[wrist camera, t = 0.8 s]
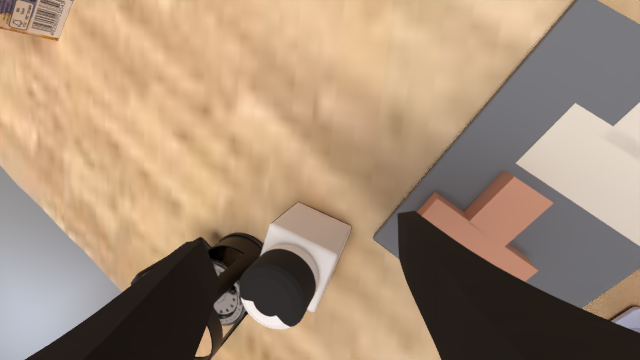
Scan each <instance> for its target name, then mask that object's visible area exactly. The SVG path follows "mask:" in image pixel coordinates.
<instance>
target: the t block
mask: <svg viewBox="0 0 640 360" xmlns="http://www.w3.org/2000/svg"><path fill="white" fill-rule="evenodd" d="M552 204H553V202H552V201H550V200H549V199H547V198H546V197H544V196H543V195H541V194H540V193H538V192H537V191H535V190H534V189H532V188H531V187H529V186H528V185H526V184H525V183H523V182H522V181H520V180H519V179H517V178H516V177H514V176H513V175H511V174H509V173H507V172H506V171H503V172H502V173H501V174H500V175H499V176H498V177H497V178H496V179H495V180H494V181H493V182H492V183H491V184H490V185H489V187H488V188H487V189H486V190H485V191H484V192H483V193H482V194H481V195H480V196H479V197H478V198H477V199H476V200H475V201H474V202H473V203H472V204H471V205H470V206H469V207H468V208H467V209H466V210H465V211H464V212H463V211H462V210H461V209H459V208H458V207H456V206H455V205H453V204H452V203H451V202H449V201H448V200H446V199H445V198H444V197H442V196H441V195H439V194H438V193H437V192H434V193H433V194H432V195H431V196H430V197H429V198H428V200H427V201H426V202H425V203H424V204H423V205H422V206H421V207H420V208H419V210H418V211H417V213H419V214H420V215H421V216H423V217H424V218H425V219H427V220H428V221H429V222H431V223H432V224H433V225H435V226H436V227H437V228H439V229H440V230H442V231H443V232H444V233H446V234H447V235H449V236H450V237H451V238H453V239H454V240H456V241H457V242H459V243H460V244H462V245H463V246H465V247H466V248H468V249H469V250H471V251H472V252H474V253H476V254H477V255H479V256H480V257H482V258H484V259H485V260H487V261H489V262H490V263H492V264H494V265H495V266H497V267H499V268H501V269H502V270H504V271H506V272H508V273H510V274H511V275H513V276H515V277H517V278H519V279H521V280H523V281H526V280H528V279H529V278H530V277H531V276H533V275H534V274H535V273H537V272H538V269H537V268H536V267H535V266H534V265H533V264H532V262H531V261H530V260H529V259H528V258H527V256H525V255H524V254H523V253H521V252H520V251H518V250H517V249H515V248H514V247H513V246H511V245H510V244H508V243H509V242H510V241H512V240H513V239H514V238H515V237H516V236H517V235H518V234H519V233H521V232H522V231H523V230H524V229H525V228H526V227H527V226H528V225H530V224H531V223H532V222H533V221H534V220H535V219H536V218H538V217H539V216H540V215H541V214H542V213H543V212H544V211H545V210H547V209H548V208H549V207H550V206H551V205H552Z"/></svg>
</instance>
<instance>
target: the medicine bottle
mask: <svg viewBox="0 0 640 360" xmlns="http://www.w3.org/2000/svg"><path fill="white" fill-rule="evenodd" d="M350 232H351V226H350V225H347V224H345V223H343V222H341V221H339V220H336V219H334V218H332V217H330V216H328V215H326V214H323V213H321V212H319V211H317V210H315V209H312V208H310V207H308V206H306V205H304V204H301V203H296V204H295V205H293V206H292V207H291V208H290V209H288V210H287V211H286V212H284V213H283V214H282V215H281V216H279V217H278V218H277V219H276V220H274V221H273V222H272V223H271V224H270V225H269V228H268V232H267V235H266V238H265V242H264V245H263V248H262V252H261V255H260V257H259V258H258V259H257V260H256V261H255V262H254V263H253V264H252V265H251V266H250V267H249V268H248V269H247V270H245V272H244V273H243V275H242V277H241V279H240V285H239V291H240V297H241V301H242V303H243V306H244V307H245V309H246V311H247V312H248V313H249V314H250V316H251V317H252V318H253V319H255V320H256V321H257V322H259V323H260V324H262V325H264V326H266V327H269V328H272V329H287V328H291V327H293V326H295V325H297V324H298V323H299V322H300V321H301V319H302V318H303V316H304V314H305V312H306V310H308V311H310V312H314V311H315V310H316V309H317V307H318V304H319V302H320V300H321V298H322V296H323V294H324V292H325V290H326V288H327V285H328V283H329V281H330V279H331V277H332V275H333V272H334V270H335V268H336V265H337V263H338V261H339V258H340V256H341V253H342V251H343V249H344V246H345V244H346V241H347V239H348V237H349V234H350Z"/></svg>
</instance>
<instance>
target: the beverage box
mask: <svg viewBox="0 0 640 360" xmlns="http://www.w3.org/2000/svg"><path fill="white" fill-rule="evenodd" d="M72 2H73V0H0V28H1V29H5V30H10V31H15V32H20V33H24V34H29V35H34V36H38V37H43V38H48V39H52V40H57V41H58V40H59V37H60V34H61V32H62V29H63V26H64V24H65V21H66V18H67V16H68V13H69V10H70V8H71V5H72Z"/></svg>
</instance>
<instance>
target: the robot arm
mask: <svg viewBox="0 0 640 360" xmlns="http://www.w3.org/2000/svg"><path fill="white" fill-rule="evenodd" d="M397 214H398V249H399V259H400V263H401V266H402V269H403V272H404V275H405V278H406V281H407V284H408V286H409V288H410V291H411V293H412V295H413V297H414V299H415V302H416V304H417V306H418V308H419V310H420V313H421V315H422V317H423V319H424V321H425V323H426V326H427V328H428V330H429V332H430V334H431V337H432V339H433V341H434V343H435V345H436V348H437V350H438V352H439V355H440V357H441V360H640V307H632V308H630V309H629V310H627V311H626V312H624V313H623V314H621V315H619V316H618V317H616V318H615V319H613V320H612V321H609V320H607V319H604V318H602V317H599V316H597V315H595V314H592V313H590V312H588V311H585V310H583V309H581V308H579V307H577V306H574V305H572V304H570V303H568V302H566V301H563V300H561V299H559V298H557V297H555V296H553V295H550V294H548V293H546V292H544V291H542V290H540V289H538V288H536V287H534V286H532V285H530V284H528V283H526V282H525V281H523V280H521V279H519V278H517V277H515V276H513V275H511V274H510V273H508V272H506V271H504V270H502V269H501V268H499V267H497V266H495V265H494V264H492V263H490V262H489V261H487V260H485V259H484V258H482V257H480V256H479V255H477V254H476V253H474V252H472V251H471V250H469V249H468V248H466V247H465V246H463V245H462V244H460V243H459V242H457V241H456V240H454V239H453V238H451V237H450V236H449V235H447V234H446V233H444V232H443V231H442V230H440V229H439V228H437V227H436V226H435V225H433V224H432V223H431V222H429V221H428V220H427V219H425V218H424V217H423V216H421V215H420V214H419V213H417V212H416V211H409V212H402V213H397ZM219 282H220V279H219V277H218V275H217V272H216V270H215V268H214V265H213V263H212V261H211V259H210V256H209V254H208V252H207V249H206V247H205V245H204V242H203V240H198V241H191V242H186V243H185V244H183V245H182V246H180V247H179V248H178V249H176V250H175V251H174V252H172V253H171V254H170V255H169V256H167V257H166V258H165V259H164V260H162V261H161V262H160V263H159V264H157V265H156V266H155V267H154V268H152V269H151V270H150V271H149V272H147V273H146V274H145V275H144V276H143V277H141V278H140V279H139V280H138V281H136V282H135V283H134V284H133V285H131V286H130V287H129V288H127V289H126V290H125V291H123V292H122V293H121V294H120V295H118V296H117V297H116V298H114V299H113V300H112V301H111V302H109V303H108V304H107V305H105V306H104V307H103V308H101V309H100V310H99V311H97V312H96V313H94V314H93V315H92V316H90V317H89V318H88V319H86V320H85V321H83V322H82V323H80V324H79V325H78V326H76V327H75V328H73V329H72V330H70V331H69V332H67V333H66V334H64V335H63V336H61V337H60V338H59V339H57V340H55V341H54V342H52V343H51V344H49V345H48V346H46V347H44V348H43V349H41V350H40V351H38V352H36V353H35V354H33V355H32V356H30V357H28V358H27V359H25V360H193V359H194V357H195V354H196V352H197V349H198V347H199V344H200V341H201V339H202V336H203V334H204V331H205V328H206V326H207V323H208V320H209V318H210V315H211V312H212V310H213V307H214V303H215V299H216V295H217V291H218V286H219Z"/></svg>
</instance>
